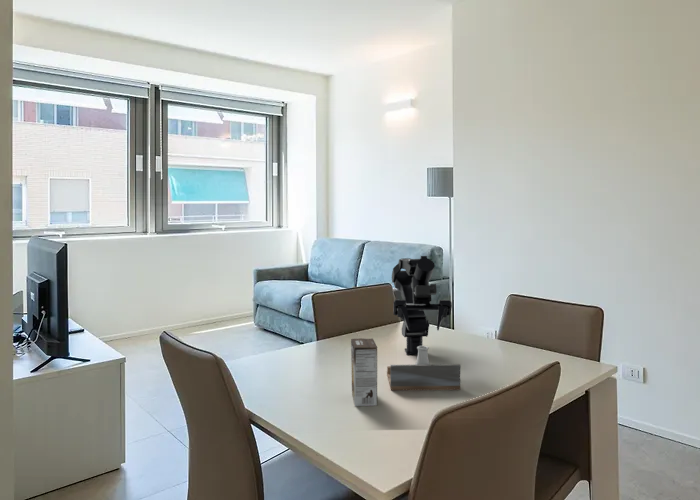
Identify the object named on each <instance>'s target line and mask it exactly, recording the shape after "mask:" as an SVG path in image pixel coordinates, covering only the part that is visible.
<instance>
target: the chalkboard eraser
mask: <svg viewBox="0 0 700 500" xmlns="http://www.w3.org/2000/svg"><path fill="white" fill-rule="evenodd" d="M386 368H387V369H386V376H387V380H388V385H389V388H390V389H389V390H390V391H450V390H451V391H454V390H455V391H459V390H461V364H459V363H455V364H454V363H447V364H445V363H443V364H442V363H439V364H438V363H435V364H431V363H430V364H420V365H415V364H390V365H389V366H388V365H387V366H386Z"/></svg>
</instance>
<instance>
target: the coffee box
mask: <svg viewBox="0 0 700 500" xmlns="http://www.w3.org/2000/svg"><path fill="white" fill-rule="evenodd" d="M350 347H351V349H350V351H351V353H350V355H351V358H350V360H351V366H350V367H351V397H352V401H353V404H354V407H365V406H367V407H368V406H372V407H373V406H378V346H377V344H376V341H375V340H374V338H350Z"/></svg>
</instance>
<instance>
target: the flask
mask: <svg viewBox="0 0 700 500" xmlns="http://www.w3.org/2000/svg"><path fill="white" fill-rule="evenodd" d="M429 348H430V347H429V346H426V345H423V346H418V347H417V349H418V354H417V357H416V361H415V364H414V365H420V364H431V363H430V360H429V355H428V350H429Z"/></svg>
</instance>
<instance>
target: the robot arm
mask: <svg viewBox="0 0 700 500" xmlns="http://www.w3.org/2000/svg"><path fill="white" fill-rule="evenodd" d="M434 269H435V262H434V261H433V260H432V259H430V258H428V256H427V255H420V258H409V257H407V258H400V259H398V263H397V264H396V265H395V266H394V267H393V268H392V273H391V283H393V285H394V288H396V290H398V291H399V292H400V296H401V299H394V300H393V309H392V310H393V315H394V316H397V318H400V319H401V320H402V326H401V335H402V336H403V337H404V338H406V348H404V352H405V354H406V355H411V356H413V355H417V356H418V349H417V347H418V346H424V344H423V337H428V336H429V329H430V323H429V320H428V319H427V318H426V317H427V316H426V314H425V311H437V319H436V330H437V331H439V330H440V327H441V323H442V321H443V319H444V318H447V316H450V315H451V311H452V308H453V306H452V305H453V302H452V301H451V300H450V299H438V303H431V302H432V295H433V296H436V295H437V291H438V290H437V284H436V283H431V284H430V280H431V279H432V276H433V272H434Z"/></svg>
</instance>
